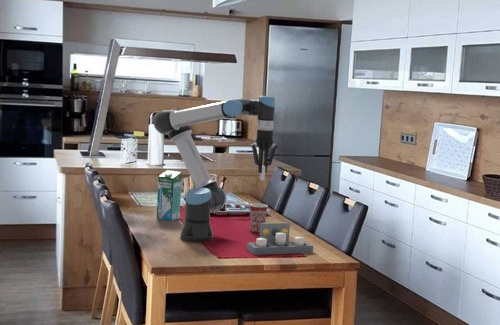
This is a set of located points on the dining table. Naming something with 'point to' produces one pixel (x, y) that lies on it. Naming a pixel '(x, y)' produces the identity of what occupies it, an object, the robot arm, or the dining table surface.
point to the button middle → (280, 239)
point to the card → (274, 230)
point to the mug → (257, 216)
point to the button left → (261, 242)
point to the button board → (280, 248)
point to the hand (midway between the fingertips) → (262, 179)
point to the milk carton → (169, 195)
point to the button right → (298, 241)
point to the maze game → (236, 209)
